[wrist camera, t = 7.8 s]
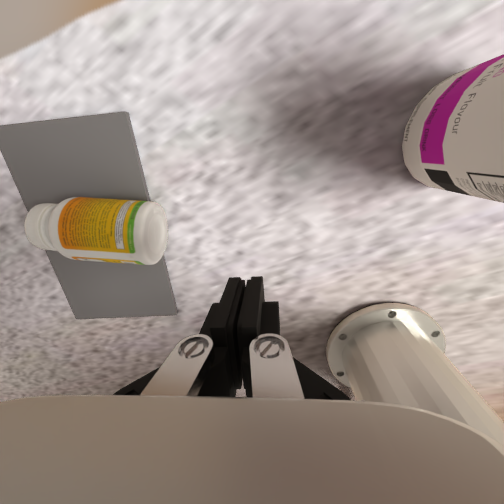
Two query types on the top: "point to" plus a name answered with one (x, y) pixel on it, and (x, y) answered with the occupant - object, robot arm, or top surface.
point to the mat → (93, 186)
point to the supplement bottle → (100, 229)
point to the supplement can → (460, 133)
